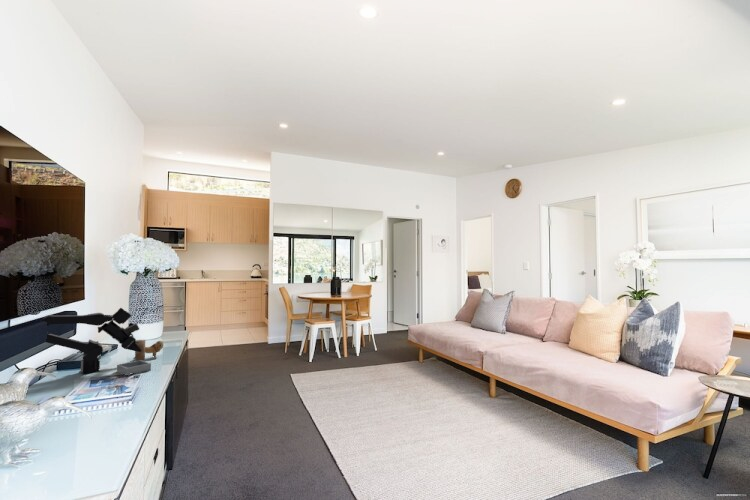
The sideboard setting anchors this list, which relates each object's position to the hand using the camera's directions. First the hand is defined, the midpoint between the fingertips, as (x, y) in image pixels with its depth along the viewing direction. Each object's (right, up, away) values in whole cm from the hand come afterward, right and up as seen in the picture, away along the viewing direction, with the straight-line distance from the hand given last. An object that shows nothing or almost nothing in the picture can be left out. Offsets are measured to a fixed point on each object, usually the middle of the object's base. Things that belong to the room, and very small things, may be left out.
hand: (140, 349), depth 190 cm
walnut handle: (0, -8, 0) cm, 8 cm away
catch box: (+5, -7, -12) cm, 15 cm away
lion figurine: (-3, -9, +13) cm, 16 cm away
